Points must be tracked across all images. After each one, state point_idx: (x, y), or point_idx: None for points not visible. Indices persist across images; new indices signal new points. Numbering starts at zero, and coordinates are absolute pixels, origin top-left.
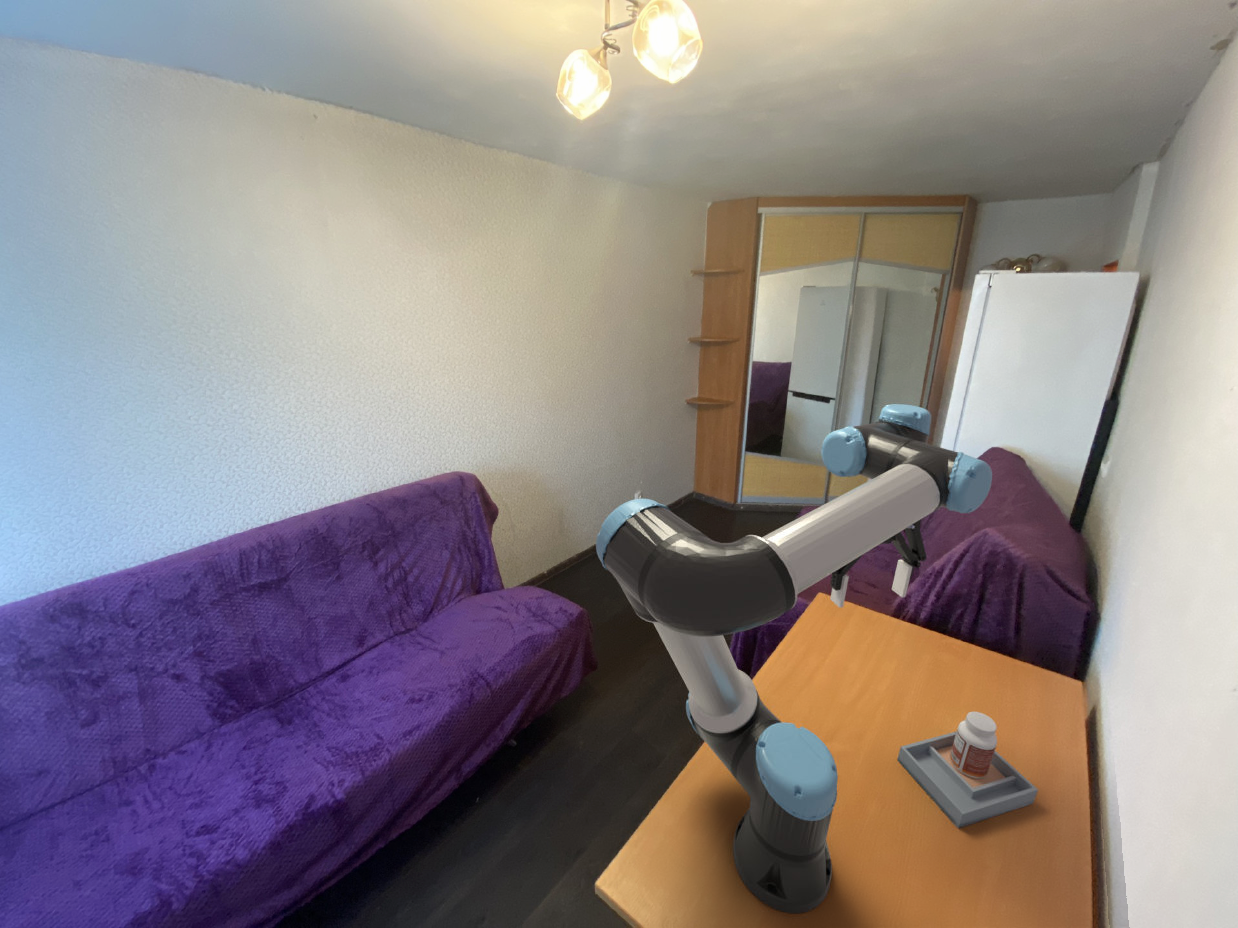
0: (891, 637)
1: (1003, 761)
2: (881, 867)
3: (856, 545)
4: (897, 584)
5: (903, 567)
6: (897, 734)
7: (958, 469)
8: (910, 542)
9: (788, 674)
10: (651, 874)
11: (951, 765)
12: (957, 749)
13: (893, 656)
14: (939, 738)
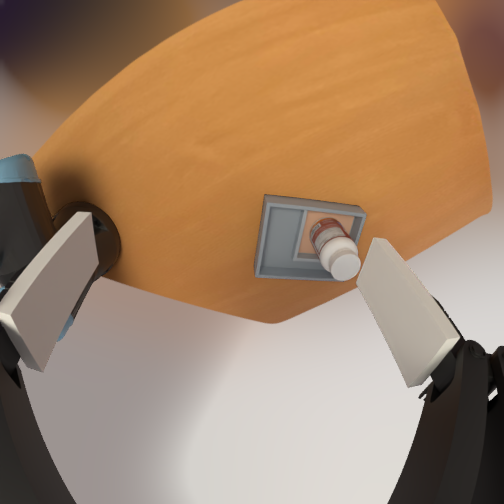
0: (433, 59)
1: None
2: (161, 267)
3: None
4: (380, 279)
5: (417, 352)
6: (297, 168)
7: None
8: (500, 438)
9: (235, 28)
10: None
11: (310, 225)
12: (316, 239)
13: (408, 79)
14: (321, 211)
